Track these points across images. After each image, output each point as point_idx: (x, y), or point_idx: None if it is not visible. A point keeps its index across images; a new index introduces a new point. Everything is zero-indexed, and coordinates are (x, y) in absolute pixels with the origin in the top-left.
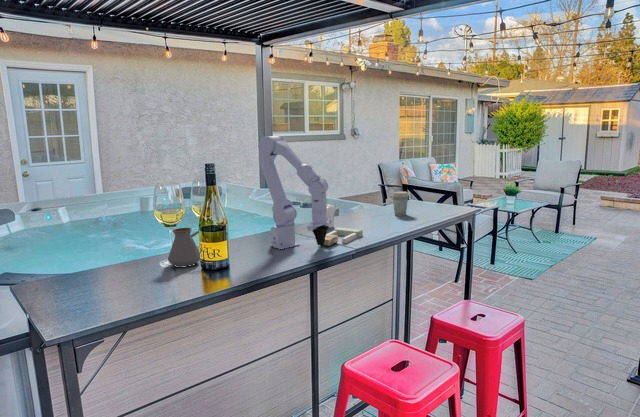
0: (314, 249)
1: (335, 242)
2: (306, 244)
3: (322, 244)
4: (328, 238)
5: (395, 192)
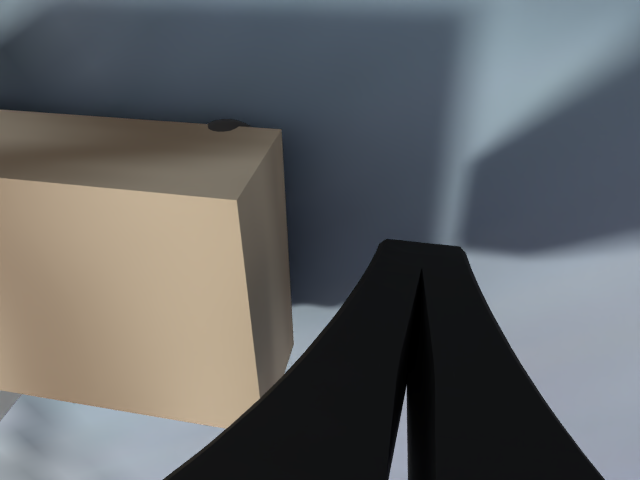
0: (531, 309)
1: (20, 111)
2: None
3: (444, 251)
4: (134, 268)
5: None
